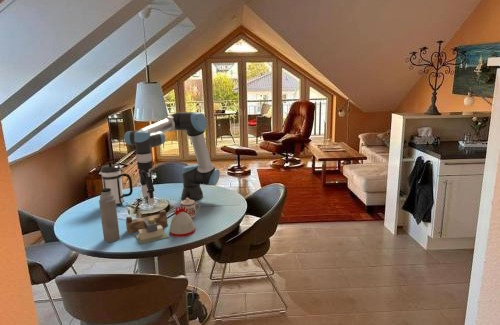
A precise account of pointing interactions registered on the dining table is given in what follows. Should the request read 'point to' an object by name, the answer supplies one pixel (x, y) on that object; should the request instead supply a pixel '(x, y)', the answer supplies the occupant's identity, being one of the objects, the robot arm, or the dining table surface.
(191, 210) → the teacup with lid
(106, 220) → the thermos bottle
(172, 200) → the dining table surface
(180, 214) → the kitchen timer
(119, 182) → the coffee press
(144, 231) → the butter dish
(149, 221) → the lever cap
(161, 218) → the hand plane
